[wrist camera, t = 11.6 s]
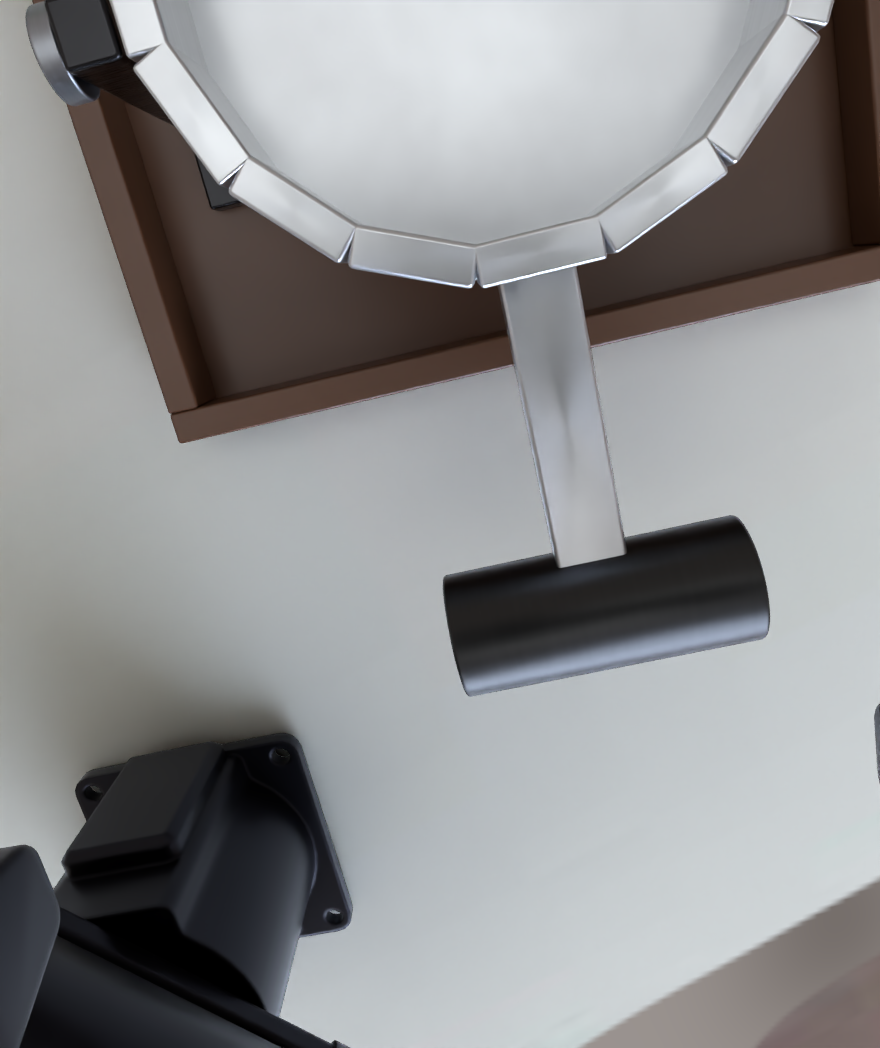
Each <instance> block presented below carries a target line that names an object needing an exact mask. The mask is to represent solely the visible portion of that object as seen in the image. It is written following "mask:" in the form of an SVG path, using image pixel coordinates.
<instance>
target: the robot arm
mask: <svg viewBox="0 0 880 1048" xmlns="http://www.w3.org/2000/svg"><path fill="white" fill-rule="evenodd" d="M874 721H875V737H876V753H877V769H878V777H879V782H880V704H879V705H878V706H877V708H876V711H875V716H874ZM277 749H284V750H286V751H287V752H288V753H289V756H287V757H281V756H280V755H278V754H277V753H276V752H275V750H277ZM90 786H96V787H98V788H99V789H100V790H101V792H96V791H94V790H93V789H92V788H91V787H90ZM75 793H76V797H77V800H78V802H79V804H80V807H81V809H82V811H83V814H84V816H85V819H86V821H87V822H86V823H85V825H84V826H83V828H82V829H81V831H80V832H79V833H78V835H77V836H76V838H75V839H74V841H73V842H72V844H71V845H70V847H69V848H68V850H67V851H66V853H65V855H64V857H63V858H62V861H61V863H62V865H63V867H64V870H65V873H64V875H63V876H62V878H61V879H60V881H59V882H58V884H57V885H56V887H55V888H54V890H53V888H52V886H51V883H50V881H49V878H48V876H47V874H46V871H45V869H44V866H43V864H42V862H41V859H40V857H39V855H38V853H37V851H36V850H35V849H34V848H32V847H31V846H28V845H18V846H12V847H6V848H0V1048H350V1047H348V1046H346V1045H344V1044H342V1043H340V1042H338V1041H336V1040H335V1041H333V1042H332V1043H329V1042H327V1041H325V1040H323V1039H321V1038H319V1037H317V1036H315V1035H313V1034H311V1033H309V1032H307V1031H305V1030H303V1029H301V1028H299V1027H297V1026H295V1025H293V1024H291V1023H289V1022H287V1021H285V1020H283V1019H281V1018H279V1016H280V1012H281V1008H282V1004H283V1000H284V996H285V992H286V987H287V983H288V979H289V975H290V971H291V967H292V963H293V959H294V955H295V951H296V947H297V943H298V939H299V938H300V937H306V936H312V935H318V934H323V933H329V932H335V931H340V930H342V929H345V928H346V927H347V926H348V925H349V923H350V921H351V917H352V911H353V907H352V902H351V899H350V896H349V893H348V889H347V886H346V883H345V880H344V877H343V874H342V871H341V868H340V865H339V862H338V859H337V855H336V852H335V849H334V846H333V843H332V840H331V837H330V834H329V831H328V828H327V824H326V821H325V818H324V815H323V812H322V809H321V806H320V803H319V800H318V797H317V794H316V790H315V787H314V784H313V781H312V778H311V775H310V772H309V769H308V766H307V763H306V759H305V756H304V753H303V750H302V747H301V745H300V743H299V741H298V740H297V739H296V738H295V737H294V736H292V735H289V734H286V733H278V734H273V735H268V736H263V737H258V738H253V739H247V740H242V741H237V742H232V743H227V744H222V745H221V744H219V743H215V742H207V743H202V744H197V745H192V746H187V747H181V748H176V749H171V750H166V751H161V752H156V753H151V754H146V755H141V756H136V757H132V758H130V759H129V760H128V762H127V763H126V764H120V765H115V766H110V767H105V768H100V769H95V770H91V771H89V772H87V773H86V774H85V775H84V776H83V777H82V779H81V780H80V781H79V783H78V784H77V786H76V789H75ZM331 910H336V911H338V912H340V914H333V913H331V912H330V911H331Z"/></svg>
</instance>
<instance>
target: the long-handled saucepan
mask: <svg viewBox="0 0 880 1048" xmlns="http://www.w3.org/2000/svg"><path fill="white" fill-rule="evenodd" d="M109 1H110V4H111V7H112V11H113V14H114V17H115V20H116V24H117V27H118V30H119V33H120V36H121V40H122V43H123V46H124V49H125V53H126V55H127V56H128V58H130V59H131V60H133V61H134V62H136V64H135V65H134V67H133V69H134V72H135V73H136V74H137V76H138V77H139V78H140V80H141V81H142V82H143V84H144V85H145V86H146V88H147V89H148V91H149V92H150V93H151V95H152V96H153V97H154V99H155V100H156V101H157V103H158V104H159V105H160V107H161V108H162V109H163V111H164V112H165V114H166V115H167V116H168V118H169V119H170V120H171V122H172V123H173V124H174V126H175V127H176V128H177V130H178V131H179V132H180V134H181V135H182V136H183V138H184V139H185V141H186V142H187V143H188V145H189V146H190V147H191V149H192V150H193V151H194V153H195V154H196V155H197V157H198V158H199V159H200V161H201V162H202V163H203V165H204V166H205V168H206V169H207V170H208V172H209V173H210V174H211V176H212V177H213V178H214V180H215V181H216V182H217V184H219V185H220V186H223V187H226V188H229V194H230V195H231V196H232V197H234V198H235V199H237V200H238V201H240V202H242V203H243V204H245V205H246V206H248V207H249V208H251V209H253V210H254V211H256V212H257V213H259V214H260V215H262V216H264V217H265V218H267V219H268V220H270V221H271V222H273V223H275V224H276V225H278V226H279V227H281V228H282V229H284V230H286V231H287V232H289V233H290V234H292V235H293V236H295V237H297V238H298V239H300V240H301V241H303V242H304V243H306V244H308V245H309V246H311V247H312V248H314V249H315V250H317V251H319V252H320V253H322V254H323V255H325V256H326V257H328V258H330V259H331V260H333V261H334V262H337V263H348V264H349V267H350V268H352V269H356V270H362V271H368V272H374V273H380V274H386V275H392V276H398V277H403V278H409V279H415V280H421V281H427V282H433V283H439V284H445V285H450V286H456V287H462V288H472V287H473V286H474V284H475V280H477V282H478V284H479V285H480V286H481V287H482V288H488V287H492V286H496V285H498V290H499V295H500V300H501V305H502V309H503V314H504V319H505V324H506V329H507V334H508V338H509V343H510V348H511V353H512V358H513V363H514V368H515V372H516V377H517V382H518V387H519V392H520V397H521V401H522V406H523V411H524V416H525V421H526V426H527V431H528V435H529V440H530V445H531V450H532V455H533V460H534V465H535V469H536V474H537V479H538V484H539V489H540V494H541V498H542V503H543V508H544V513H545V518H546V523H547V528H548V532H549V537H550V542H551V547H552V552H553V553H549V554H545V555H540V556H535V557H530V558H526V559H521V560H516V561H512V562H507V563H502V564H497V565H493V566H488V567H483V568H478V569H474V570H469V571H464V572H459V573H455V574H450V575H446V576H445V577H444V579H443V596H444V604H445V611H446V618H447V624H448V629H449V634H450V639H451V644H452V649H453V653H454V657H455V661H456V665H457V669H458V672H459V676H460V679H461V682H462V685H463V688H464V690H465V692H466V693H467V695H468V696H476V695H481V694H486V693H491V692H497V691H502V690H507V689H512V688H517V687H522V686H527V685H532V684H537V683H542V682H547V681H552V680H558V679H563V678H568V677H573V676H578V675H583V674H588V673H593V672H598V671H603V670H608V669H613V668H618V667H624V666H629V665H634V664H639V663H644V662H649V661H654V660H659V659H664V658H669V657H674V656H679V655H685V654H690V653H695V652H700V651H705V650H710V649H715V648H720V647H725V646H730V645H735V644H740V643H746V642H751V641H756V640H761V639H763V638H764V637H766V635H767V633H768V630H769V624H770V607H769V598H768V591H767V586H766V581H765V577H764V573H763V569H762V565H761V562H760V559H759V556H758V553H757V550H756V548H755V545H754V543H753V541H752V538H751V536H750V534H749V533H748V531H747V529H746V527H745V526H744V524H743V523H742V522H741V521H740V519H739V518H737V517H736V516H732V515H729V516H724V517H720V518H715V519H710V520H706V521H701V522H696V523H691V524H687V525H682V526H677V527H672V528H668V529H663V530H658V531H653V532H649V533H644V534H639V535H635V536H630V537H624V532H623V526H622V521H621V515H620V509H619V504H618V498H617V492H616V487H615V481H614V476H613V470H612V464H611V459H610V453H609V447H608V442H607V436H606V431H605V425H604V419H603V414H602V408H601V402H600V397H599V391H598V386H597V380H596V374H595V369H594V363H593V357H592V352H591V346H590V341H589V335H588V329H587V324H586V318H585V312H584V307H583V301H582V296H581V290H580V284H579V279H578V273H577V267H576V266H579V265H583V264H587V263H591V262H595V261H599V260H603V259H605V258H606V257H607V254H612V253H618V252H620V251H621V250H623V249H624V248H626V247H627V246H628V245H630V244H631V243H632V242H634V241H635V240H637V239H638V238H639V237H641V236H642V235H644V234H645V233H646V232H648V231H649V230H650V229H652V228H653V227H655V226H656V225H657V224H659V223H660V222H662V221H663V220H664V219H666V218H667V217H669V216H670V215H671V214H673V213H674V212H675V211H677V210H678V209H680V208H681V207H682V206H684V205H685V204H687V203H688V202H689V201H691V200H692V199H693V198H695V197H696V196H698V195H699V194H700V193H702V192H703V191H705V190H706V189H707V188H709V187H710V186H711V185H713V184H714V183H716V182H717V181H718V180H720V179H721V178H723V177H724V176H725V175H726V174H727V173H728V170H727V167H728V166H731V165H733V164H735V163H737V162H738V161H739V160H740V158H741V157H742V155H743V154H744V153H745V151H746V150H747V148H748V147H749V145H750V144H751V142H752V141H753V139H754V138H755V136H756V135H757V133H758V132H759V130H760V129H761V127H762V126H763V124H764V123H765V121H766V120H767V118H768V117H769V115H770V114H771V112H772V111H773V109H774V108H775V106H776V105H777V104H778V102H779V101H780V99H781V98H782V96H783V95H784V93H785V92H786V90H787V89H788V87H789V86H790V84H791V83H792V81H793V80H794V78H795V77H796V75H797V74H798V72H799V71H800V69H801V68H802V66H803V65H804V63H805V62H806V60H807V59H808V58H809V56H810V55H811V53H812V52H813V50H814V49H815V47H816V46H817V44H818V43H819V40H820V35H819V34H818V33H817V31H819V30H820V29H822V28H823V27H825V26H826V25H827V24H828V22H829V18H830V15H831V11H832V7H833V3H834V0H109Z"/></svg>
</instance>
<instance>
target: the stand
mask: <svg viewBox="0 0 880 1048" xmlns="http://www.w3.org/2000/svg"><path fill="white" fill-rule="evenodd" d="M26 27H27V32H28V36H29V40H30V43H31V46H32V49H33V52H34V54H35V57H36V59H37V61H38V64H39V66H40V68H41V70H42V72H43V73H44V75H45V77H46V79H47V80H48V82H49V84H50V85H51V87H52V88H53V90H54V91H55V92H56V93H57V95H58V96H59V97H60V98H61V99H62V100H63V101H64V102H65V103H67V104H68V105H71V106H79V105H82V104H86V103H90V102H93V101H96V100H97V99H98V98H99V96H100V89H101V90H103V91H105V92H107V93H109V94H111V95H113V96H115V97H117V98H119V99H121V100H123V101H125V102H127V103H129V104H131V105H133V106H135V107H137V108H139V109H141V110H143V111H145V112H147V113H149V114H151V115H153V116H155V117H157V118H159V119H161V120H163V121H165V122H167V123H168V124H170V125H172V126H174V124H173V123H172V122H171V120H170V119H169V118H168V116H167V115H166V114H165V112H164V111H163V109H162V108H161V107H160V105H159V104H158V103H157V101H156V100H155V99H154V97H153V96H152V95H151V93H150V92H149V91H148V89H147V88H146V86H145V85H144V84H143V82H142V81H141V80H140V78H139V77H138V76H137V74H136V73H135V72H134V69H133V67H134V65H135V64H136V62H134V61H133V60H131V59H130V58H128V56H127V55H126V53H125V49H124V46H123V43H122V40H121V36H120V33H119V30H118V27H117V24H116V20H115V17H114V14H113V11H112V7H111V4H110V1H109V0H45V1H42V2H39V3H35V4H32V5H30V6H29V7H28V9H27V11H26ZM174 127H175V126H174ZM193 152H194V151H193ZM194 155H195V158H196V162H197V165H198V168H199V172H200V175H201V179H202V182H203V185H204V189H205V192H206V195H207V199H208V202H209V206H210V208H211V209H212V210H216V211H223V210H227V209H231V208H234V207H238V206H242V205H245V204H243V203H242V202H240V201H238V200H237V199H235V198H234V197H232V196H231V195H230V194H229V188H226V187H223V186H220V185H219V184H217V182H216V181H215V180H214V178H213V177H212V176H211V174H210V173H209V172H208V170H207V169H206V168H205V166H204V165H203V163H202V162H201V161H200V159H199V158H198V157H197V155H196V154H195V153H194Z"/></svg>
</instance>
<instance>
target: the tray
mask: <svg viewBox="0 0 880 1048" xmlns="http://www.w3.org/2000/svg"><path fill="white" fill-rule="evenodd" d="M42 1H45V0H32V2H33V4H35V3H39V2H42ZM817 33H818V34H819V35H820V40H819V43H818V44H817V46H816V47H815V49H814V50H813V52H812V53H811V55H810V56H809V58H808V59H807V60H806V62H805V63H804V65H803V66H802V68H801V69H800V71H799V72H798V74H797V75H796V77H795V78H794V80H793V81H792V83H791V84H790V86H789V87H788V89H787V90H786V92H785V93H784V95H783V96H782V98H781V99H780V101H779V102H778V104H777V105H776V106H775V108H774V109H773V111H772V112H771V114H770V115H769V117H768V118H767V120H766V121H765V123H764V124H763V126H762V127H761V129H760V130H759V132H758V133H757V135H756V136H755V138H754V139H753V141H752V142H751V144H750V145H749V147H748V148H747V150H746V151H745V153H744V154H743V155H742V157H741V158H740V160H739V161H738V162H737V163H735V164H733V165H731V166H728V167H727V170H728V173H727V174H726V175H725V176H724V177H723V178H721V179H720V180H718V181H717V182H716V183H714V184H713V185H711V186H710V187H709V188H707V189H706V190H705V191H703V192H702V193H700V194H699V195H698V196H696V197H695V198H693V199H692V200H691V201H689V202H688V203H687V204H685V205H684V206H682V207H681V208H680V209H678V210H677V211H675V212H674V213H673V214H671V215H670V216H669V217H667V218H666V219H664V220H663V221H662V222H660V223H659V224H657V225H656V226H655V227H653V228H652V229H650V230H649V231H648V232H646V233H645V234H644V235H642V236H641V237H639V238H638V239H637V240H635V241H634V242H632V243H631V244H630V245H628V246H627V247H626V248H624V249H623V250H621V251H620V252H618V253H612V254H607V257H606V258H605V259H603V260H599V261H595V262H591V263H587V264H583V265H579V266H576V267H577V273H578V279H579V284H580V290H581V296H582V301H583V307H584V312H585V318H586V324H587V329H588V335H589V341H590V346H591V348H593V347H597V346H601V345H606V344H610V343H614V342H618V341H623V340H627V339H631V338H636V337H640V336H644V335H648V334H653V333H657V332H661V331H666V330H670V329H674V328H678V327H683V326H687V325H691V324H696V323H700V322H704V321H708V320H713V319H717V318H721V317H725V316H730V315H734V314H738V313H743V312H747V311H751V310H755V309H760V308H764V307H768V306H773V305H777V304H781V303H785V302H790V301H794V300H798V299H803V298H807V297H811V296H815V295H820V294H824V293H828V292H832V291H837V290H841V289H845V288H850V287H854V286H858V285H862V284H867V283H871V282H875V281H880V0H834V3H833V7H832V11H831V15H830V18H829V22H828V24H827V25H826V26H825V27H823V28H822V29H820V30H819V31H817ZM66 104H67V103H66ZM67 107H68V110H69V113H70V116H71V119H72V122H73V125H74V128H75V131H76V134H77V137H78V140H79V143H80V146H81V149H82V152H83V155H84V158H85V161H86V164H87V167H88V170H89V173H90V176H91V179H92V182H93V185H94V189H95V192H96V195H97V198H98V201H99V204H100V207H101V210H102V213H103V216H104V219H105V222H106V225H107V228H108V231H109V234H110V237H111V240H112V243H113V246H114V249H115V252H116V255H117V258H118V261H119V264H120V267H121V270H122V273H123V276H124V279H125V282H126V285H127V288H128V291H129V294H130V297H131V300H132V303H133V306H134V309H135V312H136V315H137V318H138V321H139V324H140V327H141V330H142V333H143V336H144V339H145V342H146V345H147V348H148V351H149V354H150V357H151V360H152V363H153V366H154V369H155V372H156V375H157V378H158V381H159V384H160V387H161V390H162V393H163V397H164V400H165V403H166V406H167V409H168V412H169V413H170V414H171V420H172V423H173V426H174V429H175V432H176V435H177V438H178V441H179V442H180V443H186V442H190V441H195V440H199V439H203V438H208V437H212V436H216V435H220V434H225V433H229V432H233V431H238V430H242V429H246V428H250V427H255V426H259V425H263V424H268V423H272V422H276V421H280V420H285V419H289V418H293V417H297V416H302V415H306V414H310V413H315V412H319V411H323V410H327V409H332V408H336V407H340V406H345V405H349V404H353V403H357V402H362V401H366V400H370V399H375V398H379V397H383V396H387V395H392V394H396V393H400V392H404V391H409V390H413V389H417V388H422V387H426V386H430V385H434V384H439V383H443V382H447V381H452V380H456V379H460V378H464V377H469V376H473V375H477V374H482V373H486V372H490V371H494V370H499V369H503V368H507V367H511V366H514V363H513V358H512V353H511V348H510V343H509V338H508V334H507V329H506V324H505V319H504V314H503V309H502V305H501V300H500V295H499V290H498V285H496V286H492V287H488V288H482V287H481V286H480V285H479V284H478V282H477V280H475V284H474V286H473V287H472V288H462V287H456V286H450V285H445V284H439V283H433V282H427V281H421V280H415V279H409V278H403V277H398V276H392V275H386V274H380V273H374V272H368V271H362V270H356V269H352V268H350V267H349V264H348V263H337V262H334V261H333V260H331V259H330V258H328V257H326V256H325V255H323V254H322V253H320V252H319V251H317V250H315V249H314V248H312V247H311V246H309V245H308V244H306V243H304V242H303V241H301V240H300V239H298V238H297V237H295V236H293V235H292V234H290V233H289V232H287V231H286V230H284V229H282V228H281V227H279V226H278V225H276V224H275V223H273V222H271V221H270V220H268V219H267V218H265V217H264V216H262V215H260V214H259V213H257V212H256V211H254V210H253V209H251V208H249V207H248V206H246V205H242V206H238V207H234V208H231V209H227V210H223V211H216V210H212V209H211V208H210V206H209V202H208V199H207V195H206V192H205V189H204V185H203V182H202V179H201V175H200V172H199V168H198V165H197V162H196V158H195V155H194V152H193V150H192V149H191V147H190V146H189V145H188V143H187V142H186V141H185V139H184V138H183V136H182V135H181V134H180V132H179V131H178V130H177V128H176V127H174V126H172V125H170V124H168V123H167V122H165V121H163V120H161V119H159V118H157V117H155V116H153V115H151V114H149V113H147V112H145V111H143V110H141V109H139V108H137V107H135V106H133V105H131V104H129V103H127V102H125V101H123V100H121V99H119V98H117V97H115V96H113V95H111V94H109V93H107V92H105V91H103V90H101V89H100V96H99V98H98V99H97V100H96V101H93V102H90V103H86V104H82V105H79V106H71V105H68V104H67Z"/></svg>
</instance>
